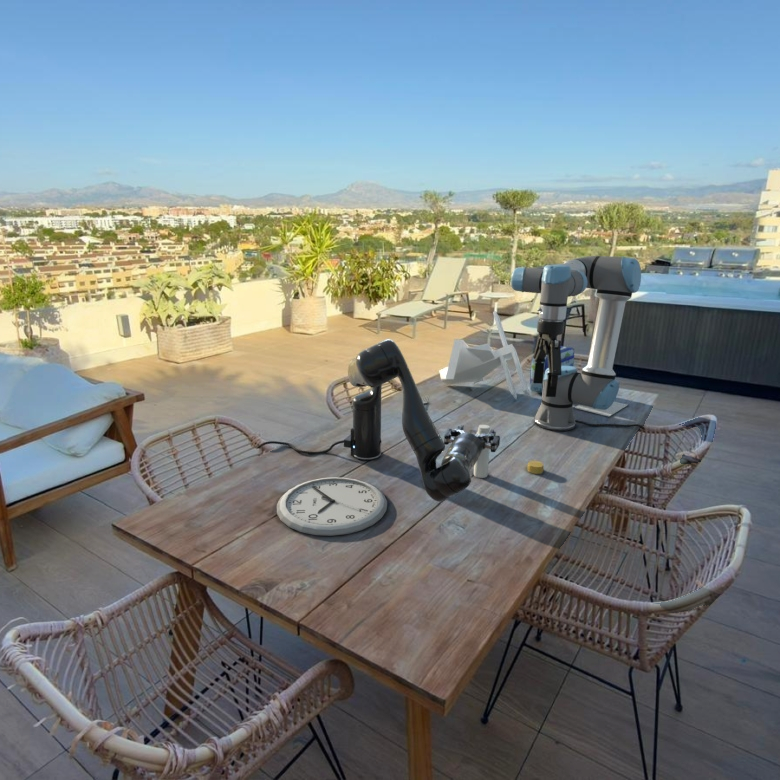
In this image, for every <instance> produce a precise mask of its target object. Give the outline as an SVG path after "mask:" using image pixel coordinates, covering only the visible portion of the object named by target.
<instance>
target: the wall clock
mask: <svg viewBox="0 0 780 780" xmlns="http://www.w3.org/2000/svg"><path fill="white" fill-rule="evenodd" d="M387 509H388V500H387V498H386V496H385V494H384V493H383V492H382V491H381V490H380V489H379V488H377V487H376V486H374V485H372V484H371V483H369V482H365V481H362V480H359V479H355V478H349V477H338V476H337V477H335V476H333V477H332V476H331V477H322V478H317V479H312V480H307V481H305V482H302V483H299V484H297V485H295V486H293V487H292V488H290V489H288V490H287V491H286V492H285V493H284V494H283V495H281V496H280V498H279V499H278V502H277V503H276V515H277V517H278V518H279V520H280V521H281V522H282V523H283V524H285V525H286V526H287V527H288V528H290V529H293V530H295V531H297V532H299V533H303V534H308V535H312V536H327V537H328V536H329V537H331V536H332V537H333V536H342V535H350V534H352V533H356V532H361V531H363V530H366V529H368V528H369V527H372V526H373V525H375V524H376V523H378V522H379V521H380V520H381V519H382V518H383V517H384V516H385V514H386V512H387Z"/></svg>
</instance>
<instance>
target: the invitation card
mask: <svg viewBox="0 0 780 780" xmlns="http://www.w3.org/2000/svg"><path fill="white" fill-rule="evenodd" d="M628 406H629V404H627V403H623V402H618V401H614V402H613V404H612V405H611V406H610V407H609V408H608V409H606V410H602V409H594V408H592V407H588V406H584V405H579V404H577V405H575V406H574V407H573V409H575V410H581V411H584V412H587V413H593V414H596V415H600V416H604V417H608V418H609V417H611V416H613V415H614V414H616V413H617V412H619V411H621V410H623V409H624V408H626V407H628Z"/></svg>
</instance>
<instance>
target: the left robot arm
mask: <svg viewBox="0 0 780 780" xmlns="http://www.w3.org/2000/svg"><path fill="white" fill-rule="evenodd" d="M347 377H348V381H349V383H350V384H351V386H353V387H356V388H361V387H362V388H365V387H366V388H369V389H367V390H366V391H364V392H361V393H359V394H357V395H355V396H354V397H353V399H352V428H350V434H349V435H348V436H347V437H345V438H344V439H343V440H338V441H336V442H333V443H332V444H331V445H330V446H329V448H327V449H325V450H320V451H308V450H302V449H298V448H297V447H296V446H294V445H293V444H291V443H290V442H285V441H277V440H276V441H275V440H269V441H264V442H262V443H260V444H259V445H258V446H256V449H260V448H262V447H263V446H266V445H272V444H274V445H282V446H283V445H284V446H289V447H290V448H292V449H293V451H295V452H297V453H299V454H300V453H301V454H305V455H318V454H319V455H320V454H325V453H328V452H331V450H332V449H333V448H334V447H335V446H337V445H339V444H340V445H341V444H343V447H344V448H347V449H350V456H351V457H354V459H357V460H361V461H374V460H376V459H378V458H380V457H381V456H382V386H383V385H384V384H386V383H388V382H390V381H392V380H394V379H396V378H398V380H399V382H400V384H401V388H402V414H401V425H402V430H403V433H404V436H405V438H406V440H407V442H408V444H409V446H410V448H411V449H412V451H413V453H414V455H415V457H416V460H417V464H418V468H419V472H420V475H421V480H422V484H423V488H424V491H425V492H426V494H427V496H428V497H429V498H430V499H432V500H433V501H435V502H439V503H441V502H445V501H446V500H448V499H451V498H452V497H454V496H456V495H457V494H459V493H461V492H463V491H464V490H466V489H467V488H468V487H469V486H470V485H471V483H472V472H471V471H472V468H474V465H475V463H476V462H477V461H478V458H479V456H480V454H481V452H482V450H483V449H485V448H489V449H490V450H489V451H490V452H491V453H495V452H497V450H498V448H499V447H500V444H501V443H500V442H501V436H500V435H496V434H497V432H496V431H495V429H491V428H490V430H489V432H490V433H489V434H487V435H486V434H480V435H476V434H474V433H471V432H465V431H464V429H465V428H464V424H460V425H459V426H457V427H456V428H454V429H453V428H451V427H450V428H447V430H446V431H445V434H444V437H443V438H442V437H441V435H440V433H439V431H438V429H437V428H436V426H435V424H434V422H433V420H432V418H431V417H430V414H429V413H428V410H427V409H426V406H425V403H424V404H423V398H422V396H421V394H420V392H419V391H420V390H419V389H418V385H417V383H416V382H415V380H414V377H413V375H412V371H411V370H410V368H409V366H408V362H407V360H406V359H405V356H404V354H403V352H402V351H401V349H400V347H399V346H398V345H397V344H396V342H395V341H393V340H392V339H391V338H388V339H384V340H381V341H380V342H378V343H376V344H374V345H372V346H370V347H367V348H365V349H363V350H361V351H360V352H358V354H357V355H356V356H355V357H353V358H352V359H351V360H350V362H349V364H348V367H347ZM482 438H483V439H482ZM488 438H489V441H488ZM446 445H450V446H449V447H448V449H447V452H446V453H445V455H444V457H443V458H442V461H441V465H439V466H438V467H437V459H438V457H440V456H441V455H442V454H443V452H444V451H445V450H446Z"/></svg>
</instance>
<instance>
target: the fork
mask: <svg viewBox="0 0 780 780" xmlns="http://www.w3.org/2000/svg"><path fill="white" fill-rule="evenodd" d="M429 400H430V397H429V396H426V395H424V396H423V398H422V401H423V404H424V405H425V404H428V403H429Z"/></svg>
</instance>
